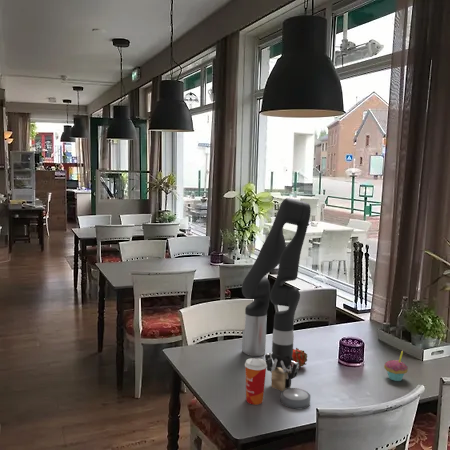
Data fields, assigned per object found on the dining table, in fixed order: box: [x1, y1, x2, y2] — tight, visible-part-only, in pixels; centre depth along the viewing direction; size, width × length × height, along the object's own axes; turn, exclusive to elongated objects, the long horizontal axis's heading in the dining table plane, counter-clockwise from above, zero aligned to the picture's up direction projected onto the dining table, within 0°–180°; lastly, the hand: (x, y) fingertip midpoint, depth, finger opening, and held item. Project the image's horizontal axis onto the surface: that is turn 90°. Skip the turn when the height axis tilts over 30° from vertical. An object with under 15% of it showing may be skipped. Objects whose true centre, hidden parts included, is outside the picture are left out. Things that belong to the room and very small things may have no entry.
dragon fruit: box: [291, 347, 308, 369], centre depth 197 cm, size 8×8×12 cm
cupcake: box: [383, 349, 409, 382], centre depth 189 cm, size 9×8×12 cm
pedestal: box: [280, 387, 311, 409], centre depth 168 cm, size 10×10×3 cm
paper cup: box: [244, 357, 267, 406], centre depth 167 cm, size 8×8×14 cm
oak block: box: [270, 368, 289, 392], centre depth 179 cm, size 5×5×6 cm
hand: (280, 385), depth 179 cm, fingers closed on oak block, 5 cm apart
